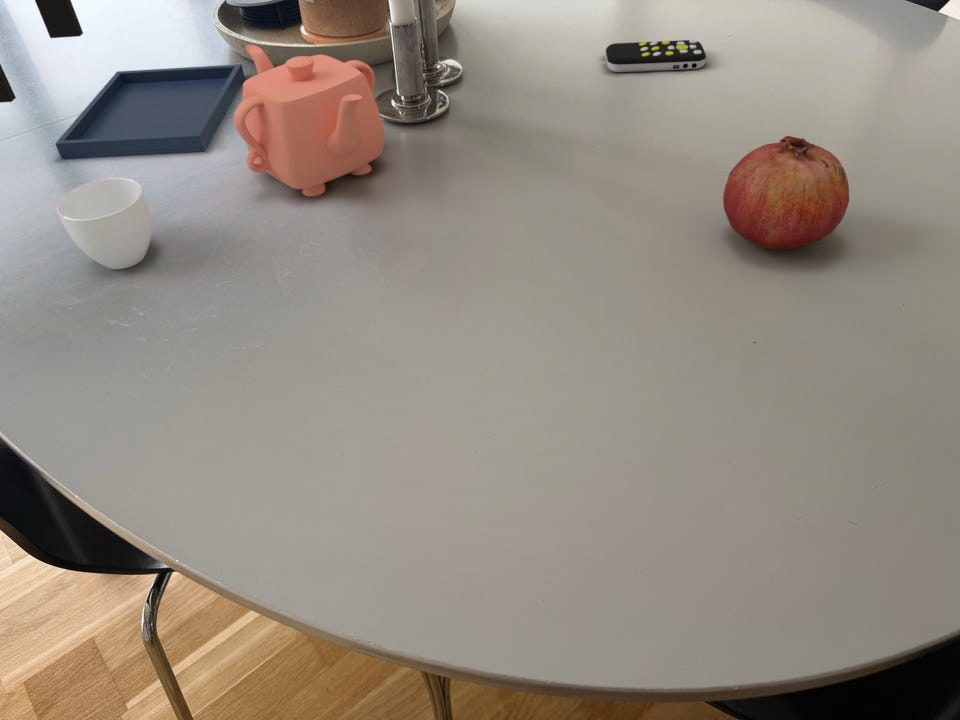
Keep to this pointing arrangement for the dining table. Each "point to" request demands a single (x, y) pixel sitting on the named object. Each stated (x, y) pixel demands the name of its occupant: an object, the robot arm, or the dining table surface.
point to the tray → (153, 112)
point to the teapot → (309, 120)
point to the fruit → (786, 194)
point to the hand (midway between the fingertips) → (34, 66)
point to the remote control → (655, 56)
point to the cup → (108, 221)
